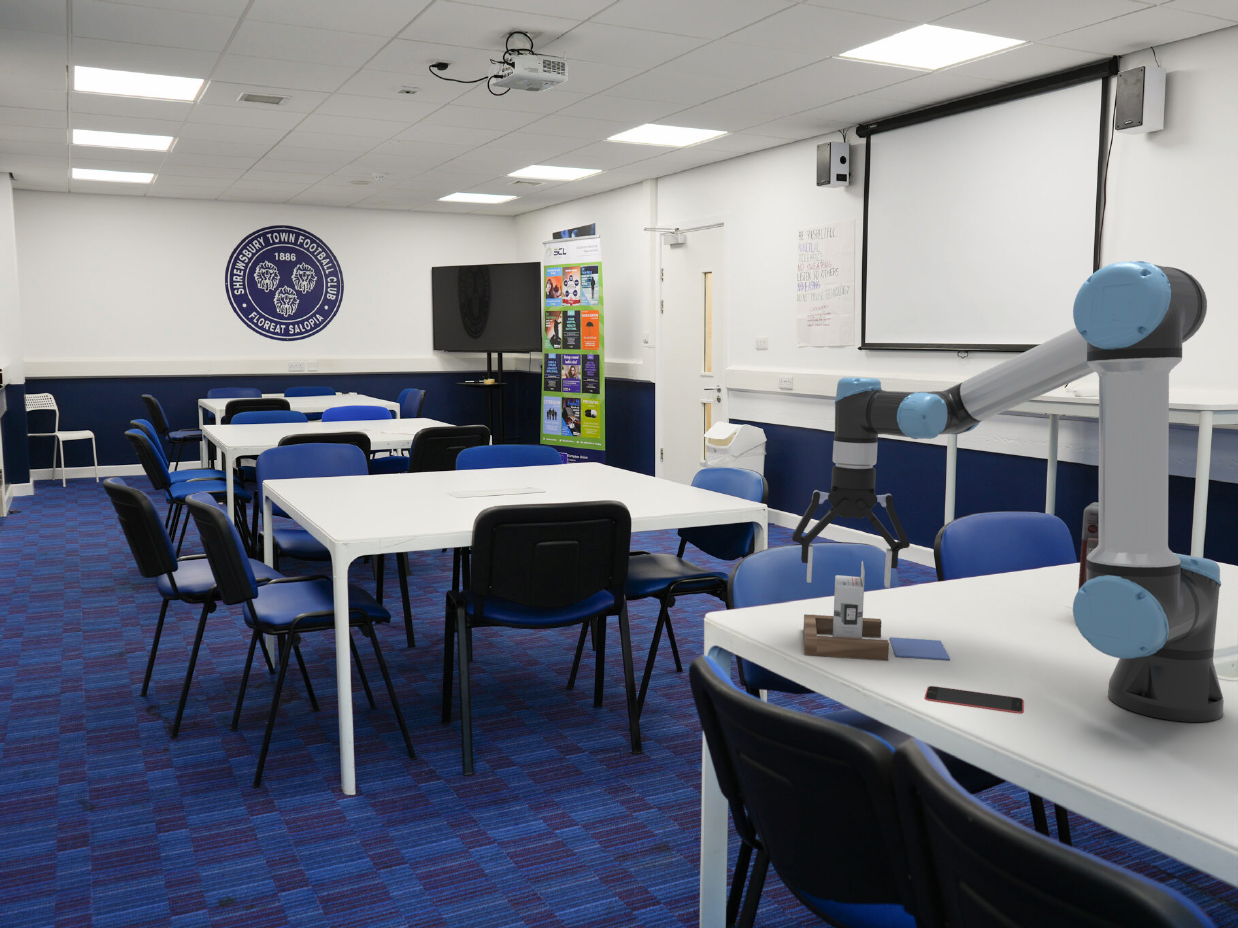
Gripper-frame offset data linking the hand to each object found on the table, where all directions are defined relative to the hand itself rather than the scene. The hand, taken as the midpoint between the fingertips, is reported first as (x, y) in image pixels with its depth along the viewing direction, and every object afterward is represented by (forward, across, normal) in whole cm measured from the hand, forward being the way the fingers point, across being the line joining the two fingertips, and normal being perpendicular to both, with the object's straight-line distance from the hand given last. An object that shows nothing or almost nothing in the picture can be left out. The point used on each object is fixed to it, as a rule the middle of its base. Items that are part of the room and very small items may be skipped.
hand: (847, 583), depth 174 cm
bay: (+11, 0, 0) cm, 11 cm away
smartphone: (+11, -18, +25) cm, 33 cm away
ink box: (+11, 0, 0) cm, 11 cm away
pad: (+11, -13, 0) cm, 17 cm away
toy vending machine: (+11, -51, -25) cm, 58 cm away
